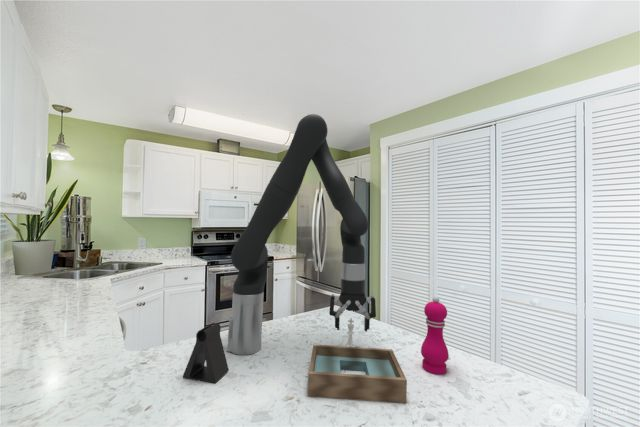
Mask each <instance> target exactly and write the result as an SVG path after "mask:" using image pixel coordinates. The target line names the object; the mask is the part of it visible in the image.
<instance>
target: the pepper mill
mask: <svg viewBox="0 0 640 427" xmlns="http://www.w3.org/2000/svg"><path fill="white" fill-rule="evenodd" d="M423 312H424V315H425V316H426V318H425V324H426V325H427V331H426V332H427V333H426V336H425V338H424V341H423V342H422V344H421V348H420V353H421V356H422V357H423V359H422V362H421V365H422V369H423V370H425V371H426V372H427V373H430V374H433V375H444V374H446V373H447V363H446V362H447V361H448V360H449V357H450V355H449V349H448V347H447V344H446V342H445V340H444V334H443V333H444V332H443V331H444V327H445V326H446V321H445V319H446V318H447V316H448V309H447V308H446V305H444V304H443V303H441V302H440V298H439V297H438V296H436V295H435V296H433V297H432V301H429V302H427V303H426V304H425V306H424V309H423Z"/></svg>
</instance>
